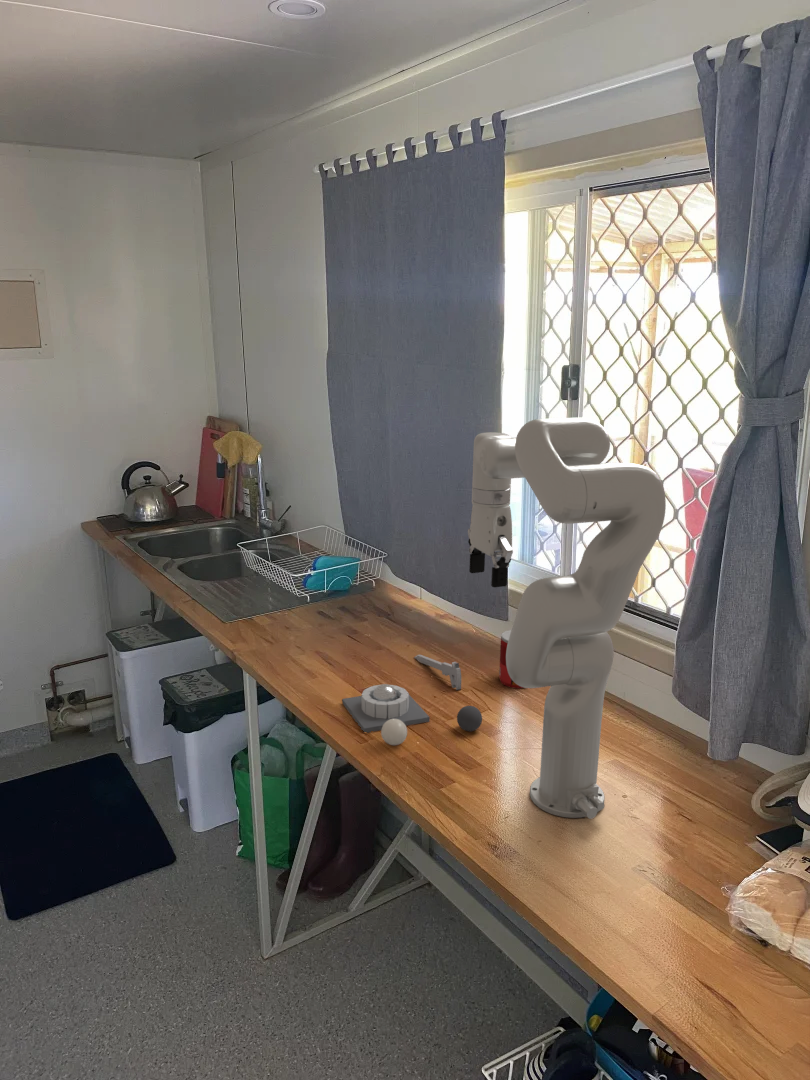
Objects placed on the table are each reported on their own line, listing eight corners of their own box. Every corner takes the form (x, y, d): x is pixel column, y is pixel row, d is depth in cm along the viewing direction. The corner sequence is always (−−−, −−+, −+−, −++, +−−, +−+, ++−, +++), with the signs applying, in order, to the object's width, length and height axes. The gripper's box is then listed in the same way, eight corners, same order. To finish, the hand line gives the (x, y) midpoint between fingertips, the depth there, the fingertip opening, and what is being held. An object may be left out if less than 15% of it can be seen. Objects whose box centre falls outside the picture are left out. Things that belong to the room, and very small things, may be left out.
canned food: (514, 691, 187) (516, 645, 184) (491, 678, 194) (493, 633, 191) (540, 684, 191) (543, 638, 188) (518, 671, 198) (520, 627, 195)
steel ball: (401, 709, 175) (399, 686, 174) (378, 714, 173) (376, 690, 172) (392, 701, 180) (391, 679, 179) (370, 706, 178) (368, 683, 177)
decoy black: (486, 733, 169) (487, 710, 167) (463, 737, 167) (463, 714, 165) (474, 722, 173) (475, 699, 172) (452, 726, 171) (453, 703, 170)
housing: (429, 721, 173) (429, 703, 172) (364, 733, 168) (364, 714, 167) (403, 693, 186) (404, 676, 185) (342, 703, 181) (342, 685, 179)
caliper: (461, 691, 188) (462, 664, 186) (457, 692, 187) (457, 665, 185) (417, 658, 205) (418, 633, 203) (413, 658, 205) (414, 634, 203)
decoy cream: (411, 747, 163) (411, 723, 161) (386, 752, 161) (386, 728, 160) (401, 735, 167) (401, 712, 166) (377, 739, 165) (377, 716, 164)
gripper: (529, 504, 161) (525, 590, 166) (488, 486, 177) (484, 565, 181) (494, 507, 158) (490, 594, 163) (455, 488, 174) (452, 569, 178)
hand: (487, 579), depth 172 cm, fingers open, 9 cm apart
